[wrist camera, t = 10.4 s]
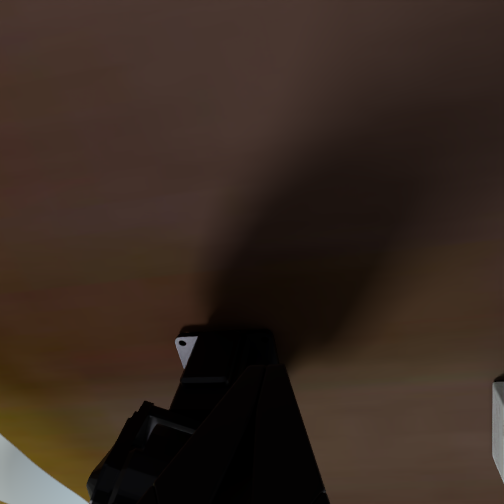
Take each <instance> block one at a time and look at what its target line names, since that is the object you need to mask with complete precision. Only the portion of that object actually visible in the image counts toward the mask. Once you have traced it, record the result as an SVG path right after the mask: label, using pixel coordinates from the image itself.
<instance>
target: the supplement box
mask: <svg viewBox="0 0 504 504" xmlns="http://www.w3.org/2000/svg"><path fill="white" fill-rule="evenodd" d="M492 416H493V419H492V442H493V443H492V455H493V459H494V461H495V464H496V466H497V468H498V470H499V473H500V475H501V478H502V480H503V482H504V382H494V383H493V410H492Z"/></svg>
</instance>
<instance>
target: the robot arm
mask: <svg viewBox="0 0 504 504" xmlns="http://www.w3.org/2000/svg"><path fill="white" fill-rule="evenodd" d="M264 336H265V337H267V339H265V338H263V337H264ZM181 340H183V341H185V342H183V341H181ZM175 344H176V347H177V350H178V353H179V356H180V359H181V361H182V364H183V367H184V371H183V374H182V376H181V378H180V384H179V386H178V389H177V391H176V394H175V396H174V399H173V401H172V404H171V406H170V409H169V410H166V409H163V408H160V407H157V406H154V403H151V402H148V401H144V402H143V404H142V406H141V407H140V409H139V411H138V412H136V411H135V412H134V414H133V416H132V417H131V418H128V419H127V421H126V423H125V425H124V427H123V429H122V431H121V433H120V435H119V437H118V439H117V441H116V443H115V444H114V446H113V447H112V449H111V450H110V451H109V452H108V453H107V455H106V456H105V457H104V458H103V459H102V461H101V462H100V463H99V464H98V466H97V467H96V468H95V469H94V470H93V472H92V473H91V475H90V477H89V479H88V482H87V490H88V493H89V496H90V499H91V500H90V503H89V504H330V502H329V499H328V495H327V494H326V490H325V487H324V484H323V481H322V478H321V475H320V472H319V469H318V465H317V462H316V459H315V456H314V453H313V450H312V447H311V444H310V441H309V438H308V435H307V432H306V429H305V426H304V423H303V420H302V416H301V413H300V410H299V407H298V404H297V401H296V398H295V395H294V392H293V389H292V386H291V383H290V380H289V377H288V374H287V370H286V368H285V366H284V365H283V364H279V361H278V356H277V351H276V346H275V341H274V336H273V333H272V332H271V331H269V330H267V329H259V330H238V331H218V332H198V333H181V334H179V335H178V336H177V338H176V340H175Z"/></svg>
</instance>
